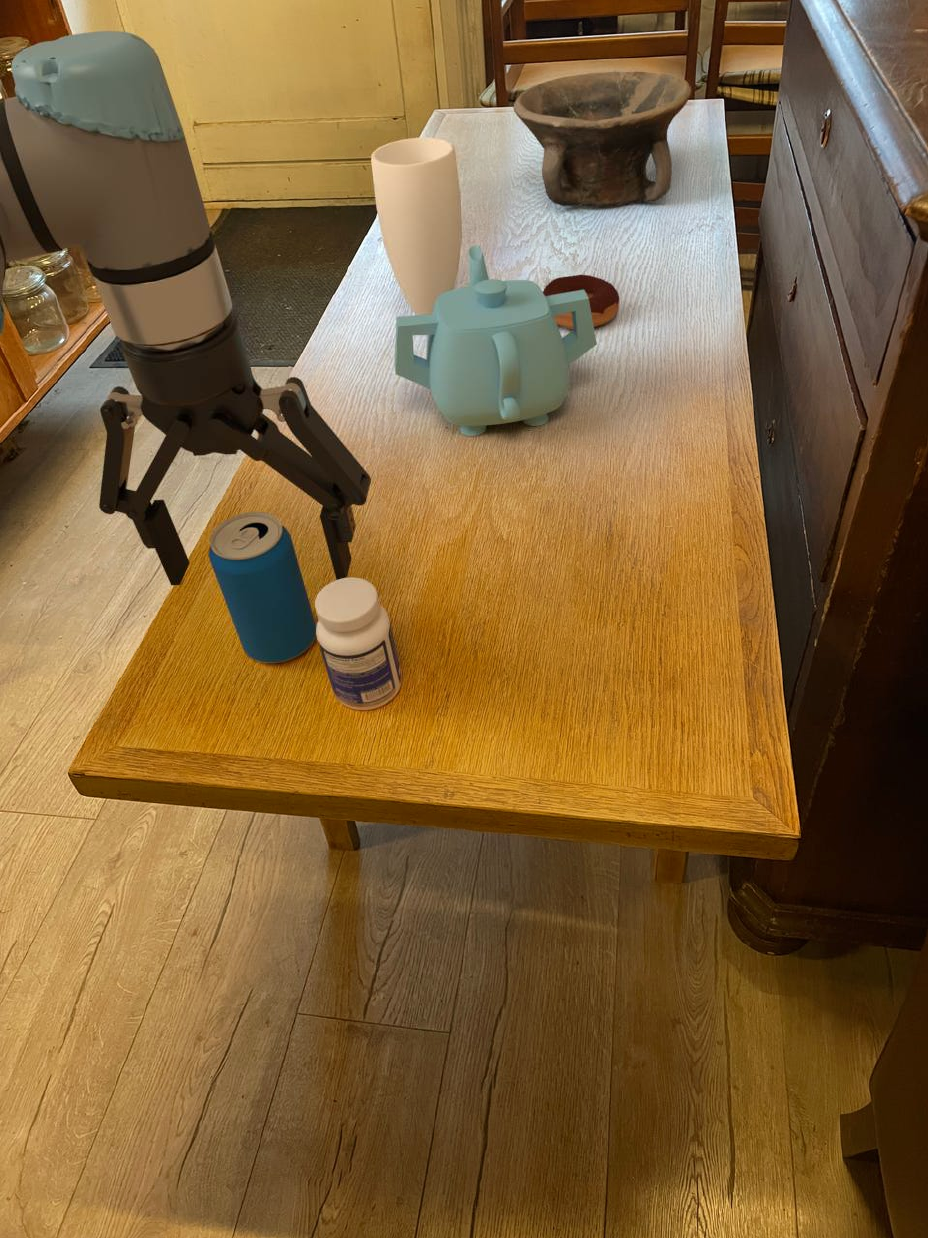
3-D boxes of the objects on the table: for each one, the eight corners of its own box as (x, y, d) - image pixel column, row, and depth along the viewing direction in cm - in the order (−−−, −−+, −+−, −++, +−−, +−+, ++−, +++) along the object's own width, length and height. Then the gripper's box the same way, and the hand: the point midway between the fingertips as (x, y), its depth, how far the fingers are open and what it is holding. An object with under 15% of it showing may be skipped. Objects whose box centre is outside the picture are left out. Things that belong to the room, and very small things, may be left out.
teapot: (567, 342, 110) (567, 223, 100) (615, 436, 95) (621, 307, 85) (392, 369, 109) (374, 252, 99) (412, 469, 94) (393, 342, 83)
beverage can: (333, 630, 77) (304, 521, 69) (285, 679, 74) (248, 571, 65) (277, 606, 80) (243, 499, 72) (228, 652, 76) (186, 545, 68)
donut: (628, 327, 112) (629, 296, 109) (551, 339, 111) (551, 308, 108) (606, 293, 119) (607, 263, 116) (534, 304, 118) (533, 274, 115)
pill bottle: (349, 654, 75) (327, 566, 68) (412, 666, 73) (396, 577, 66) (321, 706, 71) (294, 618, 64) (387, 719, 70) (367, 631, 63)
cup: (489, 327, 114) (477, 147, 99) (425, 357, 110) (402, 174, 95) (440, 303, 121) (422, 129, 106) (377, 330, 117) (349, 154, 101)
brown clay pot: (527, 167, 156) (524, 69, 145) (682, 162, 151) (690, 61, 140) (507, 228, 137) (501, 121, 127) (683, 224, 132) (692, 113, 122)
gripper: (377, 285, 58) (419, 537, 73) (17, 307, 60) (129, 545, 75) (360, 342, 52) (409, 601, 67) (-33, 363, 55) (98, 607, 70)
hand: (261, 572), depth 71 cm, fingers open, 13 cm apart
